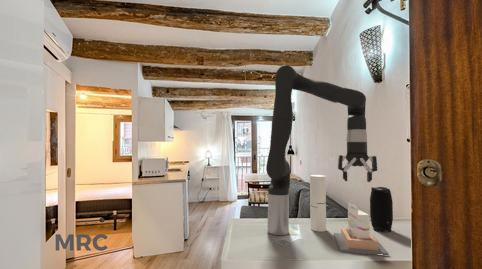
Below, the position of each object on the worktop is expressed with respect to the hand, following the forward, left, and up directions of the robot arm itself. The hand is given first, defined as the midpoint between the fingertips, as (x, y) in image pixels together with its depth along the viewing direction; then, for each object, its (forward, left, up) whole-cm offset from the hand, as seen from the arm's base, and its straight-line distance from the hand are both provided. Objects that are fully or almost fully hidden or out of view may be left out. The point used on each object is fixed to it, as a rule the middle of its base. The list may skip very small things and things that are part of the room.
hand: (357, 181), depth 100 cm
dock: (0, 0, -25) cm, 25 cm away
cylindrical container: (-14, +16, -25) cm, 33 cm away
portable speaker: (+15, +22, -25) cm, 37 cm away
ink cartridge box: (0, 0, -24) cm, 24 cm away
